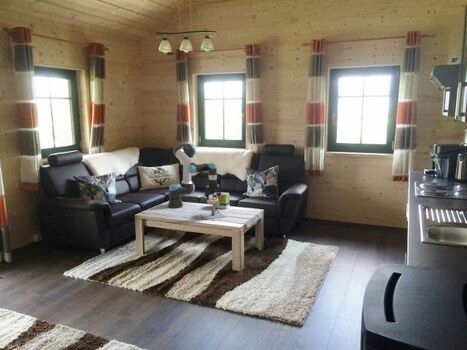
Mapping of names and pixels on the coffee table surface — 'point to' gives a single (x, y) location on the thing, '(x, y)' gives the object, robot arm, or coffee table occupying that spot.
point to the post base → (218, 215)
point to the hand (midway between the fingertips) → (213, 203)
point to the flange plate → (213, 201)
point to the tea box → (222, 200)
